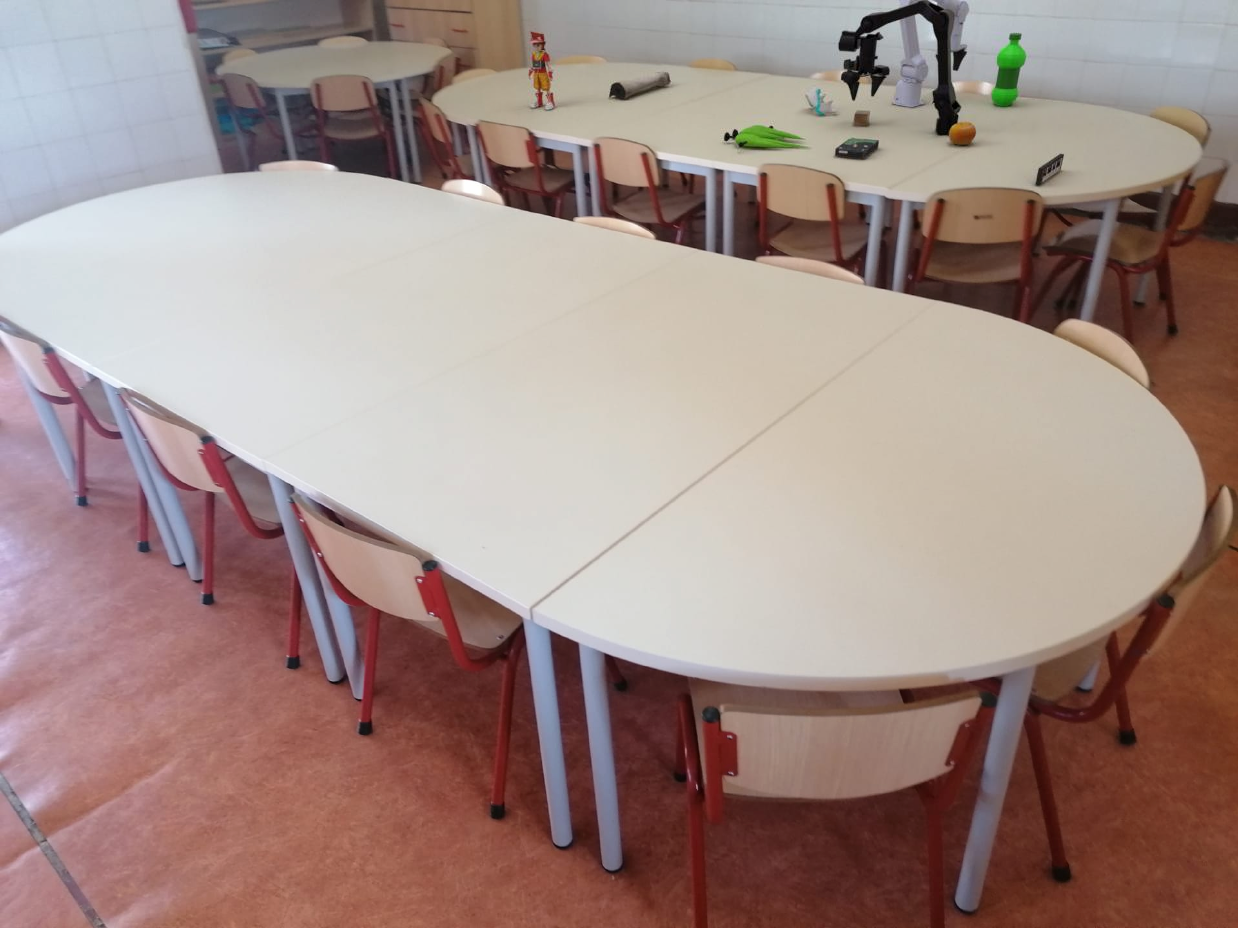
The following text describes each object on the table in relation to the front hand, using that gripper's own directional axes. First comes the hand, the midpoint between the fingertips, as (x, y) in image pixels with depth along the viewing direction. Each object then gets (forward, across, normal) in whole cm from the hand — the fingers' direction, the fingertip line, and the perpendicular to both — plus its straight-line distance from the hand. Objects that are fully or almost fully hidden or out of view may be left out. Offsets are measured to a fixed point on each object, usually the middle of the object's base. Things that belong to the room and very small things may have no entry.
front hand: (862, 98), depth 330 cm
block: (+9, 0, 0) cm, 9 cm away
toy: (+10, +80, -108) cm, 135 cm away
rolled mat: (+10, +34, -103) cm, 109 cm away
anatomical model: (+9, -1, -24) cm, 26 cm away
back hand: (0, -54, -9) cm, 54 cm away
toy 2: (+9, +42, -1) cm, 43 cm away
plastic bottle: (+9, -59, +15) cm, 62 cm away
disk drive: (+9, +26, +26) cm, 38 cm away
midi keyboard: (+9, 0, +83) cm, 84 cm away
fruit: (+9, -8, +41) cm, 43 cm away
